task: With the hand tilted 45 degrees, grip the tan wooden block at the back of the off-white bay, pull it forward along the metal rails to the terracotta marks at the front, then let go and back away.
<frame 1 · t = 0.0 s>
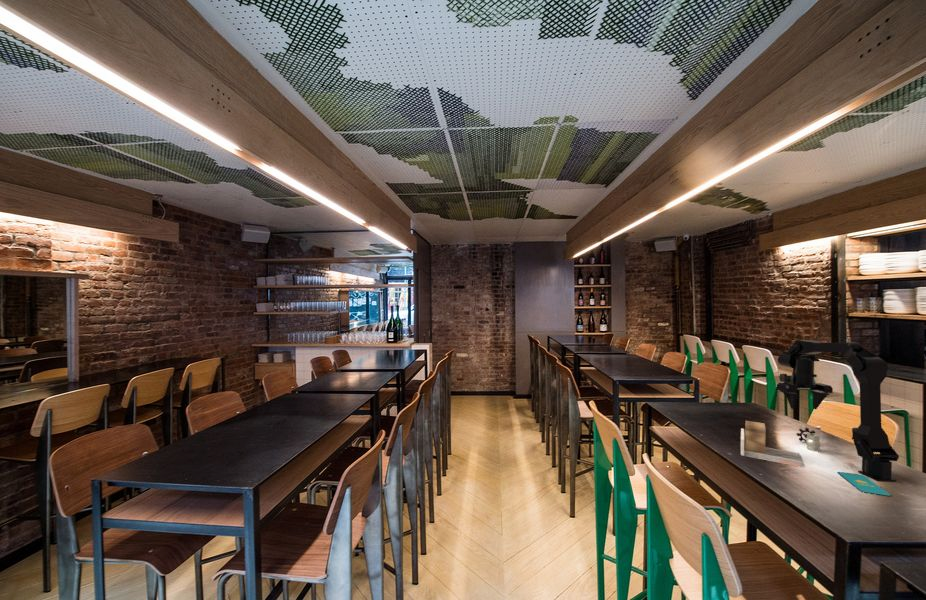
hand: (803, 408, 160), 15 cm above the table, tool pointing down, fingers open, 9 cm apart
valve: (810, 448, 157), on the table
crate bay: (770, 456, 149), on the table
tan wooden block: (755, 437, 151), point 6 cm above the table, slide at 0.0 cm
smartphone: (862, 485, 127), on the table
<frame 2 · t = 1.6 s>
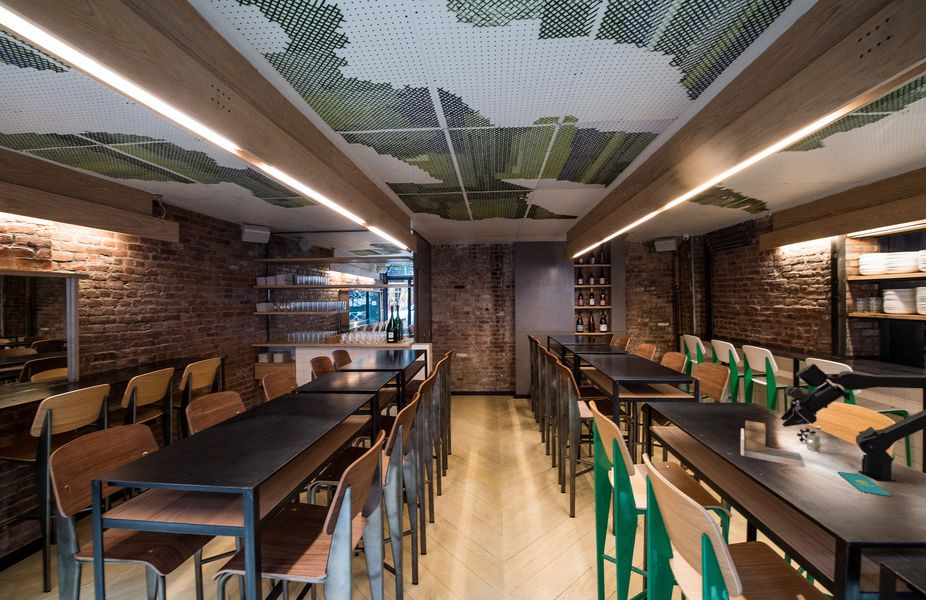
hand: (782, 422, 147), 13 cm above the table, tool tilted 45°, fingers open, 9 cm apart
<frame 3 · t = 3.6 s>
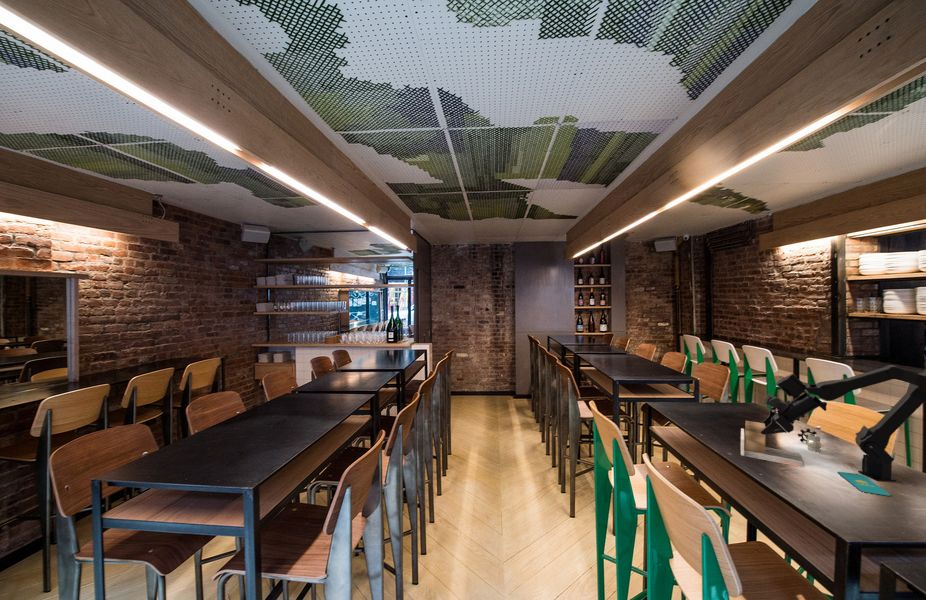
hand: (761, 430, 150), 9 cm above the table, tool tilted 45°, fingers open, 9 cm apart
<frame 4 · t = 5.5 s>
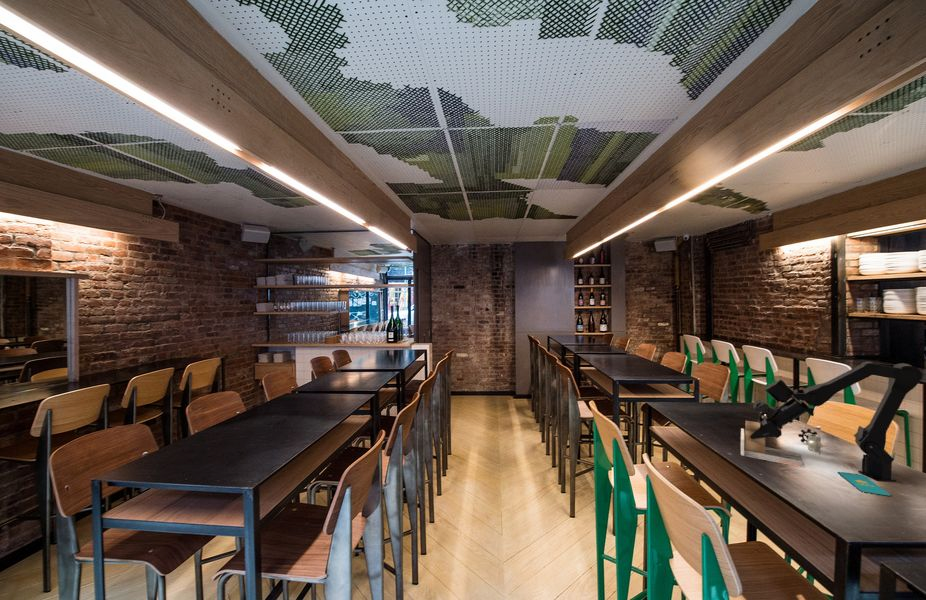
hand: (750, 435, 152), 7 cm above the table, tool tilted 45°, fingers closed on tan wooden block, 6 cm apart
tan wooden block: (755, 437, 151), point 6 cm above the table, slide at 0.0 cm, touching gripper
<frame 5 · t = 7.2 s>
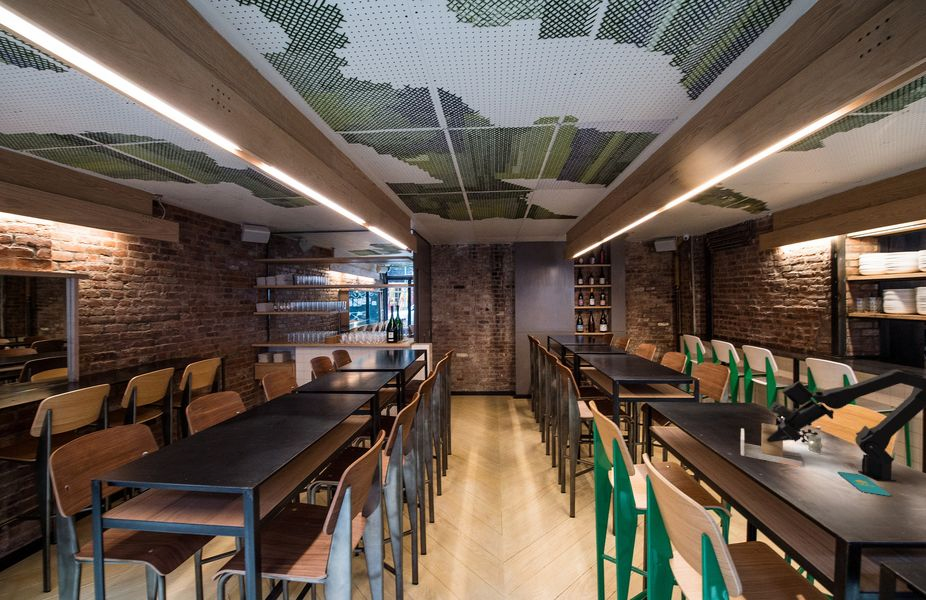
hand: (767, 438, 149), 7 cm above the table, tool tilted 45°, fingers closed on tan wooden block, 6 cm apart
tan wooden block: (771, 440, 148), point 6 cm above the table, slide at 5.1 cm, touching gripper
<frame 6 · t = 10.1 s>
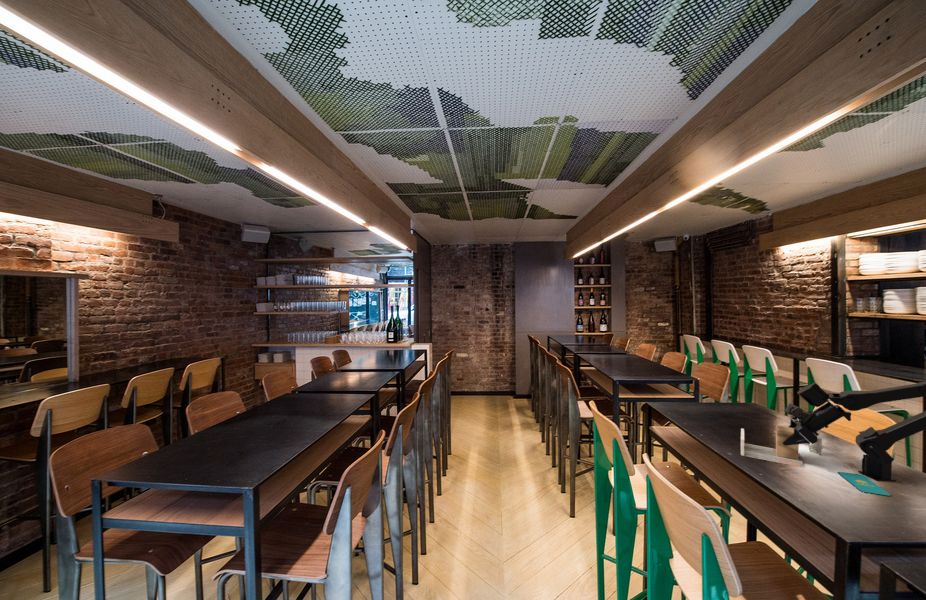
hand: (782, 440, 147), 7 cm above the table, tool tilted 45°, fingers open, 9 cm apart
tan wooden block: (786, 443, 146), point 6 cm above the table, slide at 9.5 cm
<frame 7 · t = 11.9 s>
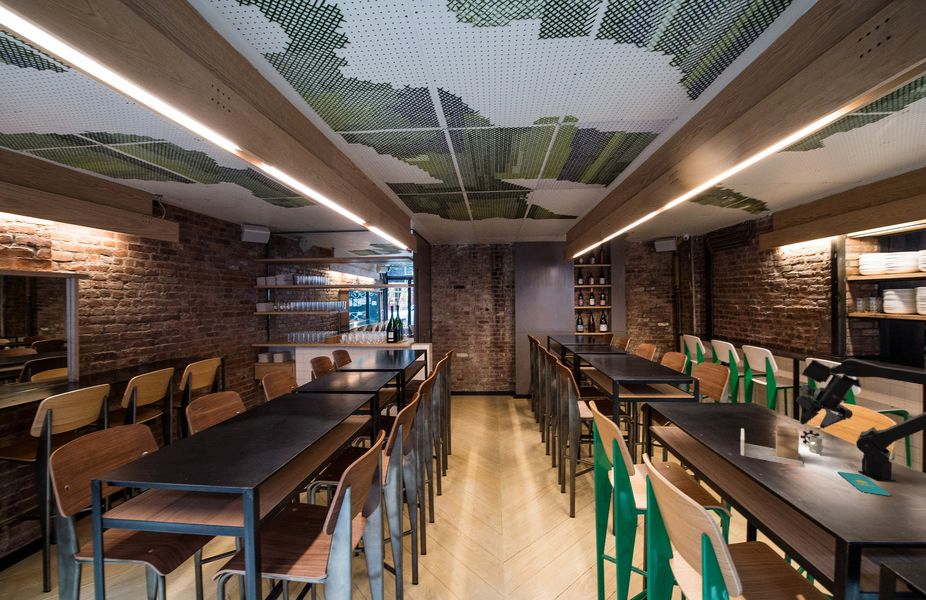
hand: (811, 425, 145), 13 cm above the table, tool tilted 25°, fingers open, 9 cm apart
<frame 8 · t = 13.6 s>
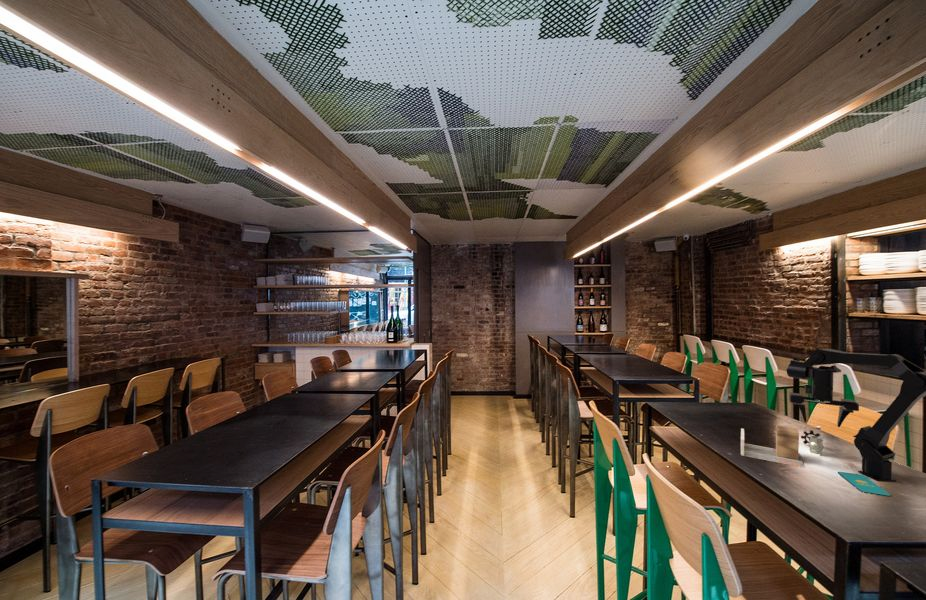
hand: (821, 424, 146), 13 cm above the table, tool pointing down, fingers open, 9 cm apart
at the end: tan wooden block slide at 9.5 cm; the gripper is holding nothing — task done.
